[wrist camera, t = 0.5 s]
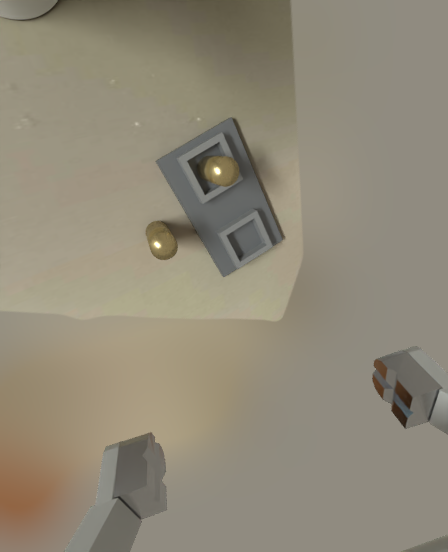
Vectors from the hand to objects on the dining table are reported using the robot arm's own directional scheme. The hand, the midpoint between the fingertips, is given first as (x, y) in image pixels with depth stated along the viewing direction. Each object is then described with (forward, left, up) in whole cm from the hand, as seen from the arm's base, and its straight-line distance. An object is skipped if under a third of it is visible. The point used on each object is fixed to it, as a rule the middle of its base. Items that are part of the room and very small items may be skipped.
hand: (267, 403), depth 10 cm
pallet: (+7, +11, -44) cm, 46 cm away
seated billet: (0, +11, -43) cm, 45 cm away
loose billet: (+5, -2, -44) cm, 45 cm away
